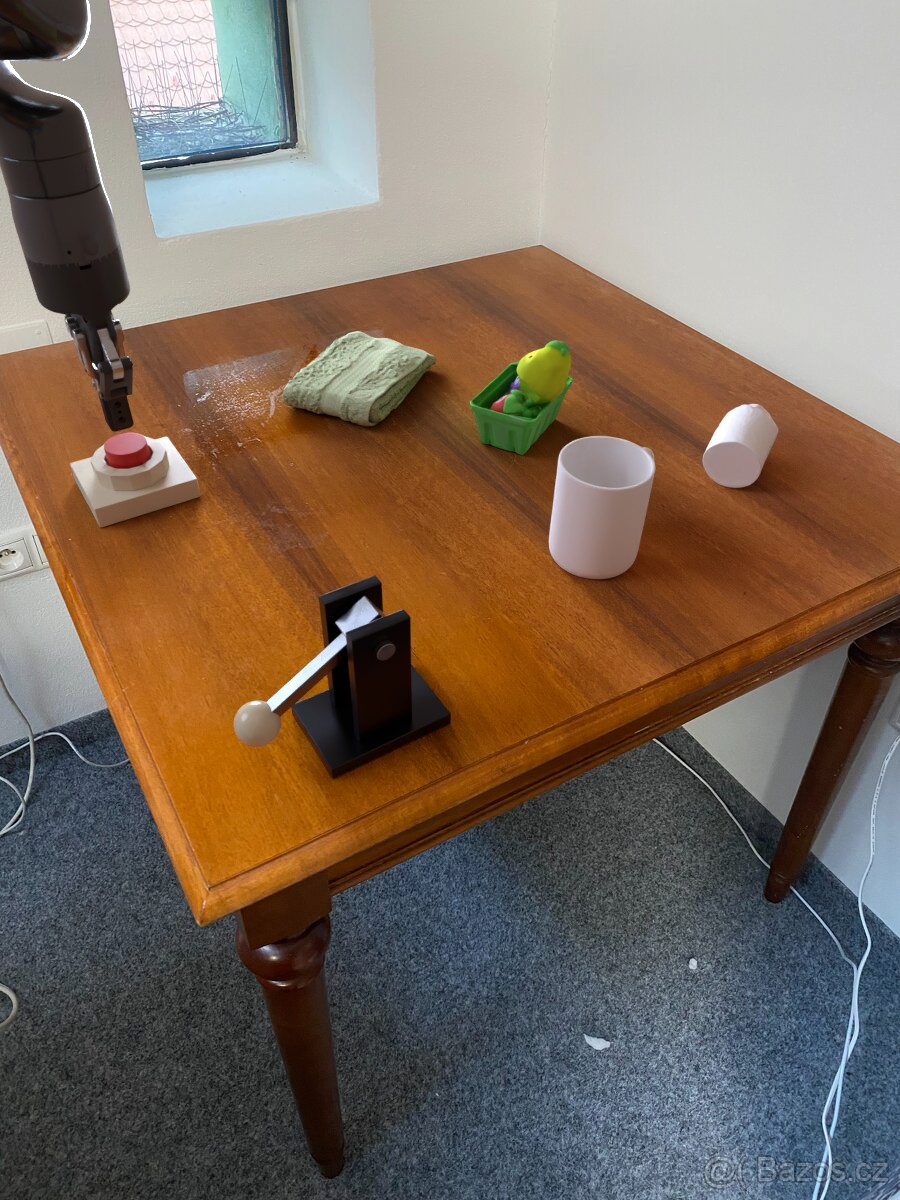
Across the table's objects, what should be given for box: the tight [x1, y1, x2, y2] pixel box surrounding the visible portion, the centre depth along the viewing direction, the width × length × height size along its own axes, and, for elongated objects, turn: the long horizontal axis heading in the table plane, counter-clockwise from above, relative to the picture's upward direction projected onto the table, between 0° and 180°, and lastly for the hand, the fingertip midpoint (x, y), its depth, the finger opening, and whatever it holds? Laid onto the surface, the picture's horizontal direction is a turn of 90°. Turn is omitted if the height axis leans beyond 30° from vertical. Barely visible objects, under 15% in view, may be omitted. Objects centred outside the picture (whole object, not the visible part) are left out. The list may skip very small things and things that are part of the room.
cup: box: [548, 435, 656, 580], centre depth 80 cm, size 8×12×10 cm
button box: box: [69, 435, 202, 529], centre depth 87 cm, size 10×9×4 cm
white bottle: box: [702, 403, 779, 489], centre depth 92 cm, size 6×12×6 cm, turn 153°
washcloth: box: [280, 330, 437, 427], centre depth 103 cm, size 13×18×3 cm
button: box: [103, 432, 150, 469], centre depth 85 cm, size 4×4×2 cm
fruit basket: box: [469, 339, 574, 456], centre depth 94 cm, size 11×9×11 cm
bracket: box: [290, 574, 452, 780], centre depth 63 cm, size 10×7×12 cm
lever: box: [233, 596, 386, 748], centre depth 60 cm, size 13×3×3 cm
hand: (120, 426), depth 83 cm, fingers closed
